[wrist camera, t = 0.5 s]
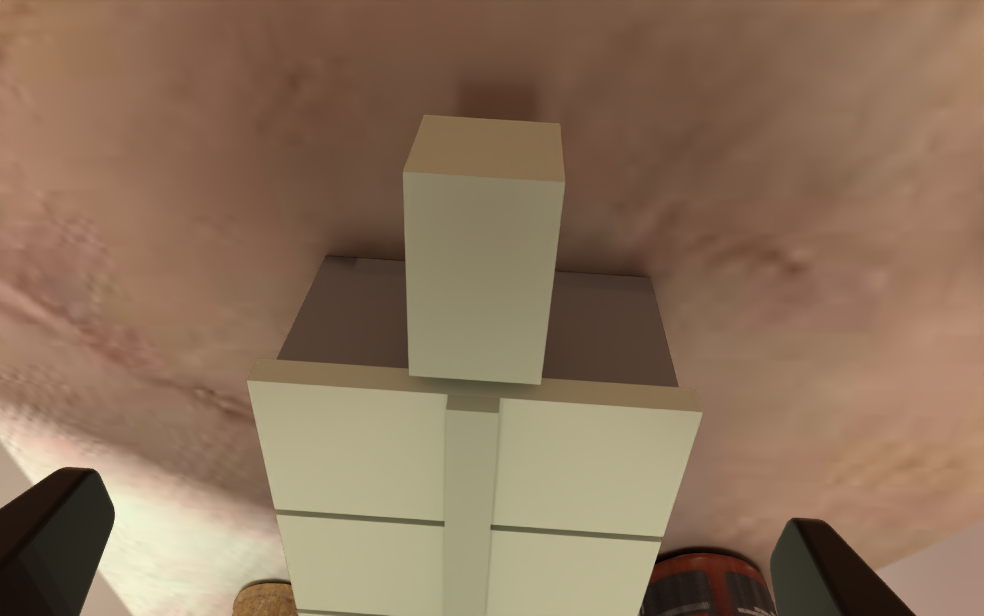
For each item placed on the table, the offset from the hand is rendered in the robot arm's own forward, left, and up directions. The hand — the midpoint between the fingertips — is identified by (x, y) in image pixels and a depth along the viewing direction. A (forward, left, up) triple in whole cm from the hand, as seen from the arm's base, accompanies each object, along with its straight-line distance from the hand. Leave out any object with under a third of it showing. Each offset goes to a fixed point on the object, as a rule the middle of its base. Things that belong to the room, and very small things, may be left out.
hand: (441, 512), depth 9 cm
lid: (-8, 0, -9) cm, 12 cm away
